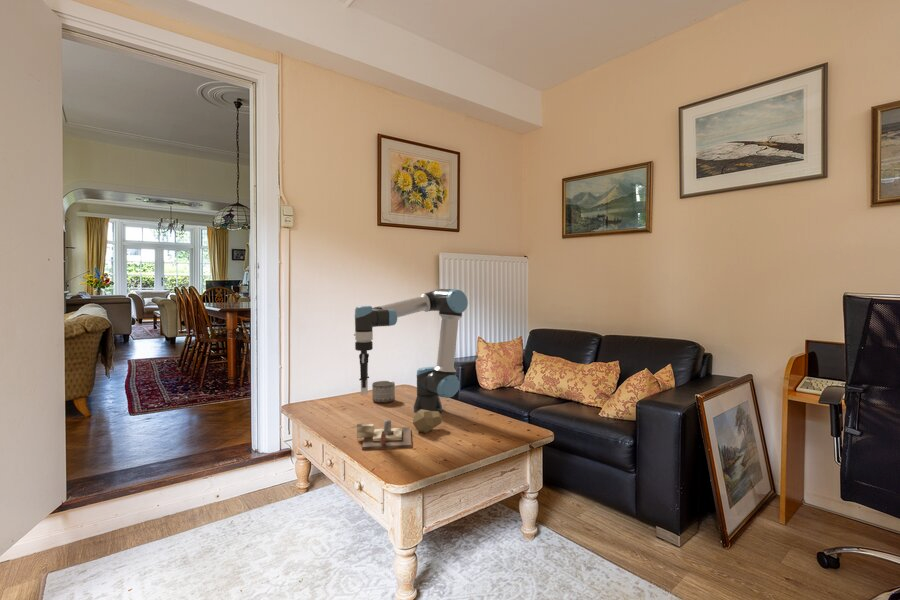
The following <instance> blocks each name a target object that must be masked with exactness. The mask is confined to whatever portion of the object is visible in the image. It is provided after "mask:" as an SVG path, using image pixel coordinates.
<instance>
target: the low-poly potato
mask: <svg viewBox="0 0 900 600" xmlns="http://www.w3.org/2000/svg"><path fill="white" fill-rule="evenodd" d="M442 423H443V415H442V414H441V412H440V413H439V411H428V410H423V409H421V410H419V411H417V413H414V415H413V418H412V425H413V426H414V428H415V429H416V430H417V431H418V432H421V433H426V434H428V432H430V431H431V430H433V429H435V428H436V427H438V426H439V425H441V424H442Z"/></svg>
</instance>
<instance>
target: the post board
mask: <svg viewBox="0 0 900 600" xmlns="http://www.w3.org/2000/svg"><path fill="white" fill-rule="evenodd" d="M383 424H384V425H383V427H382V428H379V427H378V428H377V427H376V429H384V434H381V441H373V437H368V438H363V440H362V446H361V450H363V451H364V450H365V451H366V450H367V451H369V450H385V449H386V450H389V449H410V448H412V435H411V433H412V432H411V426H409V427H407V426H406V427H403V426H402V427H401V428H402V440H392V441H386V435H393V434H391V428H392V419H385V420H384V421H383Z"/></svg>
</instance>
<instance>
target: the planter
mask: <svg viewBox="0 0 900 600" xmlns="http://www.w3.org/2000/svg"><path fill="white" fill-rule="evenodd" d="M395 386H396V385H395V381H392V380H379V381H378V380H377V381H374V382H372V383H371V387H372V390H371V391H372V392H371V393H372V395H371V396H372V399H371V400H372V401H373V402H376V403H379V402H382V403H381V404H384V403H383V402H386V403H390V402H393V401H395V398H396V396H395V394H396V392H395V391H396V390H395Z"/></svg>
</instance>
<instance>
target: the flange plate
mask: <svg viewBox="0 0 900 600" xmlns="http://www.w3.org/2000/svg"><path fill="white" fill-rule="evenodd" d="M402 428H403V427H391V434H393V435H386V441H392V440H402ZM381 434H384V429H377V428H375V424H374V423H356V438H357V439H364V438H368V437H373V441H381Z"/></svg>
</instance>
